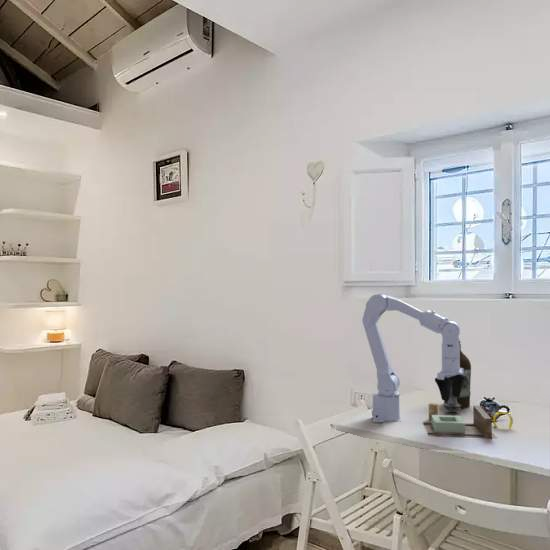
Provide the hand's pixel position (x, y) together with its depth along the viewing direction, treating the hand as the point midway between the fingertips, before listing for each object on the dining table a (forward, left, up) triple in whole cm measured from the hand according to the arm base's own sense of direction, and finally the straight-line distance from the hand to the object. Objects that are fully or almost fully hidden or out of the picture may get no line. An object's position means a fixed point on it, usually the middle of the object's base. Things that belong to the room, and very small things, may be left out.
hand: (450, 398), depth 173 cm
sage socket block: (-2, -6, -9) cm, 11 cm away
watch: (+16, -1, -10) cm, 19 cm away
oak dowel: (-5, +5, -9) cm, 11 cm away
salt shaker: (+3, +15, -9) cm, 18 cm away
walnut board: (+1, -6, -9) cm, 11 cm away
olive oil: (+7, +29, -9) cm, 31 cm away
